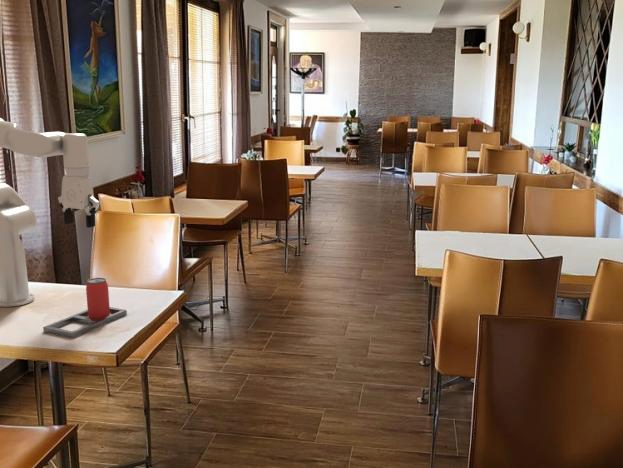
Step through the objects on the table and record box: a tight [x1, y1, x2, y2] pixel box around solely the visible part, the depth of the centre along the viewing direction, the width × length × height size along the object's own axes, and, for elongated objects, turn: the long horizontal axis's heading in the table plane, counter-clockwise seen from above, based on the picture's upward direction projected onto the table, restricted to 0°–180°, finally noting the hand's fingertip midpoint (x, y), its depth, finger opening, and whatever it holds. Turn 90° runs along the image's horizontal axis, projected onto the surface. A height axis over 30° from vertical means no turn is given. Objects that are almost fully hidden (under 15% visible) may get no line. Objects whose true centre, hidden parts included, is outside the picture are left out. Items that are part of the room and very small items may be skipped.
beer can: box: [85, 277, 111, 319], centre depth 198 cm, size 7×7×12 cm
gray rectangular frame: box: [42, 306, 128, 339], centre depth 194 cm, size 12×23×2 cm, turn 154°
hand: (79, 225), depth 205 cm, fingers open, 9 cm apart
